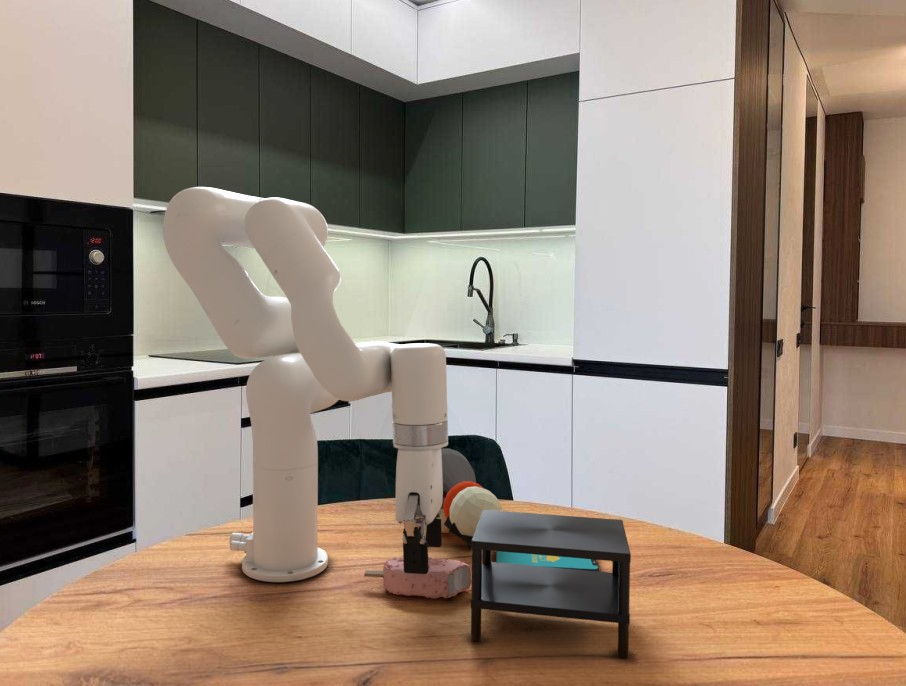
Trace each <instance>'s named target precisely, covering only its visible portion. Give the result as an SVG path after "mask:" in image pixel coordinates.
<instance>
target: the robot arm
mask: <svg viewBox="0 0 906 686" xmlns="http://www.w3.org/2000/svg"><path fill="white" fill-rule="evenodd" d="M162 235H163V241H164V246H165V249H166V253H167V254H168V256H169V259H170V260H171V262H172V264H173V266H174V267H175V269H176V270H177V272H178V273H179V274H180V276H181V277H182V279H183V280H184V281H185V283H186V284H187V285H188V287H189V288H190V290H191V291H192V293H193V294H194V296H195V297H196V299H197V301H198V303H199V304H200V306H201V308H202V309H203V311H204V313H205V314H206V317H207V318H208V320H209V321H210V323H211V324H212V326H213V328H214V330H215V331H216V333H217V334H218V336H219V338H220V340H221V341H222V342H223V344H224V346H225V347H226V348H227V350H228V351H229V352H230V353H231V354H232V355H233V356H235V357H237V358H240V359H243V360H244V359H245V360H246V359H247V360H250V359H260V358H266V359H264V360H262V361H261V362H259V363H258V364H257V365H256V366H255V367H254V368H253V370H252V371H251V372H250V374H249V375H248V379H247V381H246V388H245V389H246V390H245V395H246V403H247V409H248V413H249V419H250V426H251V437H252V532H251V533H250V534H247V533H244V532H232V533H231V534H230V537H229V550H230V551H235V552H244V554H245V556H244V557H243V559H242V561H241V571H242V572H243V574H245V575H246V576H247V577H249V578H251V579H254V580H256V581H260V582H266V583H267V582H268V583H289V582H295V581H296V582H297V581H302V580H306V579H309V578H312V577H315V576H316V575H318V574H320V573H322V572H323V571H325V569H326V568H327V566H328V565H329V556H328V553H327V552H326V550H324V549H322V548H321V547H319V545H318V544H319V543H318V539H319V538H318V537H319V535H318V534H319V533H318V531H319V526H318V525H319V524H318V523H319V521H318V518H319V516H318V513H319V511H318V509H319V504H318V503H319V482H318V481H319V446H318V438H317V434H316V430H315V428H314V424H313V421H312V418H311V414H312V413H315V412H320V411H322V410H325V409H328V408H330V407H332V406H333V405H335V404H336V403H337V402H339V400H340V401H343V402H356V401H360V400H363V399H366V398H369V397H374V396H377V395H381V394H385V393H386V394H387V393H391V408H392V409H391V410H392V446H393V448H395V449H397V456H396V467H395V507H394V508H395V509H394V510H395V512H394V513H395V515H394V516H395V517H394V519H395V522H396V523H397V524H402V523H403V526H404V527H403V529H402V530H403V531H402V534H403V536H402V554H403V555H402V558H403V562H404V572H405V573H413V574H427V573H428V570H429V566H428V557H429V548H441V547H442V546H443V535H442V534H443V533H442V528H441V519H437V518H440V516H441V510H440V508H441V506H442V500H443V474H442V453H441V448H446V447H447V446H448V445H449V424H448V421H449V420H448V419H449V418H448V386H447V383H448V381H447V380H448V379H447V355H446V351H445V348H444V347H442V346H441V345H440V344H437V343H429V342H427V343H426V342H424V343H420V342H419V343H405V344H399V343H393V342H386V341H369V342H358V343H355V341H354V340H353V339H352V338H351V336H350V334H349V333H348V331H347V330H346V328H345V327H344V325H343V324H342V322H341V320H340V318H339V316H338V314H337V312H336V308H335V305H334V293H335V291H336V290H338V288H339V286H340V284H341V281H342V274H341V272H340V270H339V269H340V268H338V267H337V265H336V263H335V262H334V261H333V259H332V258H331V256H330V255H329V253H328V252H327V251H326V249H325V248H324V247H325V245H326V243H327V240H328V236H329V228H328V223H327V221H326V219H325V217H324V215H323V214H322V212H321V211H320V210H319V209H317V208H316V207H315V206H313V205H311V204H310V203H306V202H301V201H298V200H297V201H296V200H292V199H288V198H284V197H274V196H273V197H267V198H264V197H258V196H252V195H249V194H242V193H238V192H233V191H229V190H225V189H220V188H215V187H207V186H193V187H188V188H184V189H182V190H181V191H179V192H177V193H176V194H175V195H174V196H172V198H171V199H170V200H169V202H168V204H167V206H166V209H165V212H164V216H163V223H162ZM224 246H233V247H243V248H249V249H255V251H256V253H257V254H258V256H259V257H260V258H261V260H262V262H263V263H264V265H265V266H266V268H267V269H268V271H269V272H270V274H271V275H272V277H273V279H274V280H275V282H276V283H277V285H278V287H279V288H280V290H281V291H282V293H283V294H284V296H271V295H269V296H268V295H266V294H264V293H262V291H261V290H259V288H258V287H257V285H256V284H255V282H254V281H253V280H252V278H251V276H250V274H249V273H248V271H247V270H246V269H245V267H244V266H243V265H242V263H240V261H239V260H238V259H237V258H236V257H234V256H233V254H231V253H230V252H229V251H228V250H227V249H226V248H225V247H224Z"/></svg>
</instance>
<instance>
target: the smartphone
mask: <svg viewBox="0 0 906 686" xmlns="http://www.w3.org/2000/svg"><path fill="white" fill-rule="evenodd" d="M495 562H497V563H508V564H520V565H531V566H542V567H553V568H565V569H576V570H587V571H598V572H600V569H599V567H600V566H599V565H598V562H597V560H594V559H582V558H571V557H559V556H547V555H536V554H524V553H512V552H501V551H495Z"/></svg>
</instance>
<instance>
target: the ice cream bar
mask: <svg viewBox="0 0 906 686" xmlns="http://www.w3.org/2000/svg"><path fill="white" fill-rule="evenodd" d="M428 566H429V570H428V573H427V574H413V573H405V572H404V562H403V557H399V558H398V557H397V556H395V557H392V558H389V559H388V560H386V561H385V563H384V564H383V569H382V570H371V569H370V570H369V569H368V570H367V569H365V572H364V575H363V577H366V578H367V577H368V578H382V580H383V589H384V590H385V591H387V592H388V593H389V594H393V595H398V596H400V595H401V596H402V595H403V596H408V597H411V596H417V597H424V598H427V599H429V598H430V599H439V598H444V599H449V598H452V597H456V596H457V594H458V593H462V592H466V591H468V590H469V589H470V587H471V576H472V567H471V565H469V564H468V563H465V562H463V561H460V560H453V559H449V558H443V559H442V558H432V557H430V556H428Z"/></svg>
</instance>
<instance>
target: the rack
mask: <svg viewBox="0 0 906 686" xmlns="http://www.w3.org/2000/svg"><path fill="white" fill-rule="evenodd" d="M629 546H630V545H629V541H628V537H627V533H626V529H625V525H624V520H623V519H617V518H615V519H614V518H603V517H602V518H601V517H590V516H589V517H587V516H574V515H561V514H548V513H547V514H546V513H533V512H520V511H505V510H502V511H494V510H483V512H482V515H481V517H480V520H479V523H478V525H477V528H476V530H475V533H474V536H473V538H472V541H471V546H470V547H471V586H470V587H471V589H470V595H471V596H470V641H471V642H474V643H478V642H481V640H482V610H486V611H487V610H488V611H496V612H506V613H507V612H508V613H517V614H525V615H535V616H536V615H537V616H547V617H555V618H564V619H565V618H566V619H576V620H583V621H584V620H585V621H593V622H594V621H595V622H604V623H611V624H612V623H613V624H617V657H618V658H620V659H624V660H626V659H629V658H630V657H629V655H630V652H629V651H630V650H629V649H630V623H631V621H630V620H631V619H630V618H631V616H630V615H631V614H630V601H631V600H630V598H631V597H630V595H631V591H630V590H631V562H632V558H631V557H632V553H631V549H630V547H629ZM496 551H501V552H512V553H524V554H536V555H547V556H559V557H571V558H582V559H594V560H596V561H608V562H612V564H611V567H612V568H611V572H609V571H599V572H598V571H587V570H576V569H565V568H553V567H542V566H531V565H520V564H508V563H497V562H496V561H492V552H496Z"/></svg>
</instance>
